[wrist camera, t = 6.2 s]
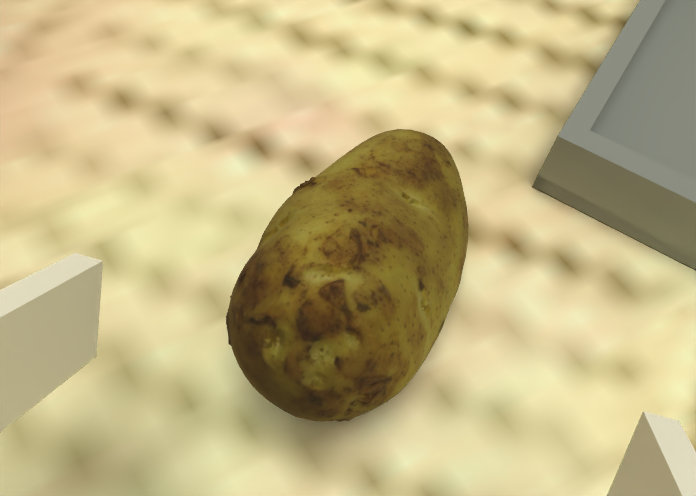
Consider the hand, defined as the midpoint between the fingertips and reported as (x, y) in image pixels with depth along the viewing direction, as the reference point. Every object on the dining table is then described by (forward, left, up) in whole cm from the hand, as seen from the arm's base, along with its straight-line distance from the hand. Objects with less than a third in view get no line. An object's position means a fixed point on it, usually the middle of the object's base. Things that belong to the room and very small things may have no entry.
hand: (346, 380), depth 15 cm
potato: (+6, +3, -11) cm, 12 cm away
